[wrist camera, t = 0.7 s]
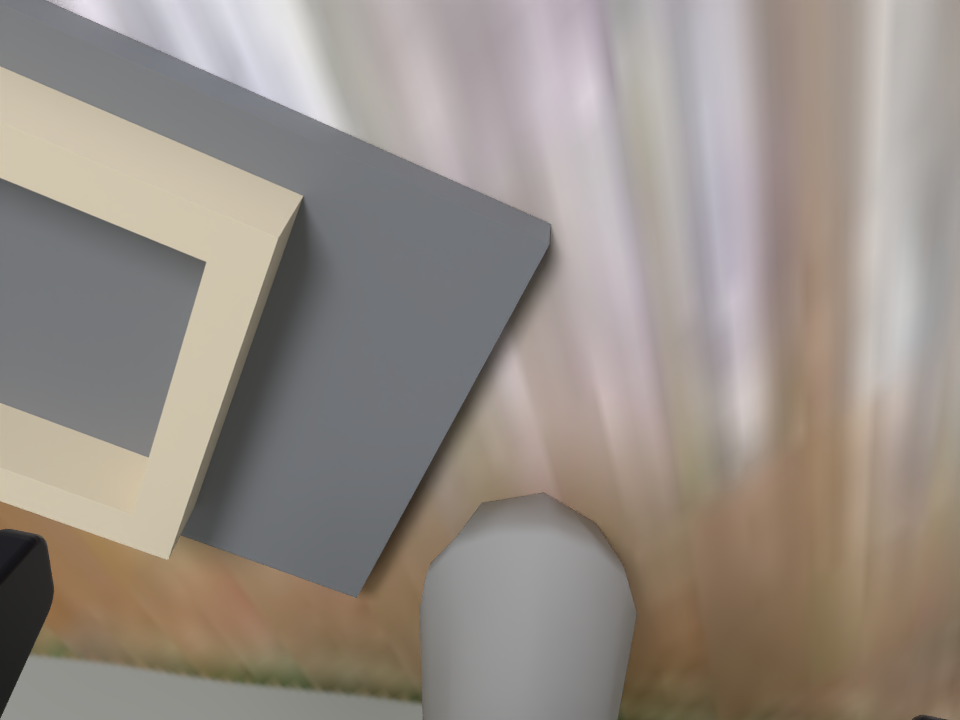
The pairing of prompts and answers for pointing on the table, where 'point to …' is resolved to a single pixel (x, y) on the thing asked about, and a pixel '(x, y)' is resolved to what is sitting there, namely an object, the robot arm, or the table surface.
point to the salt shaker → (525, 618)
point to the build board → (226, 307)
